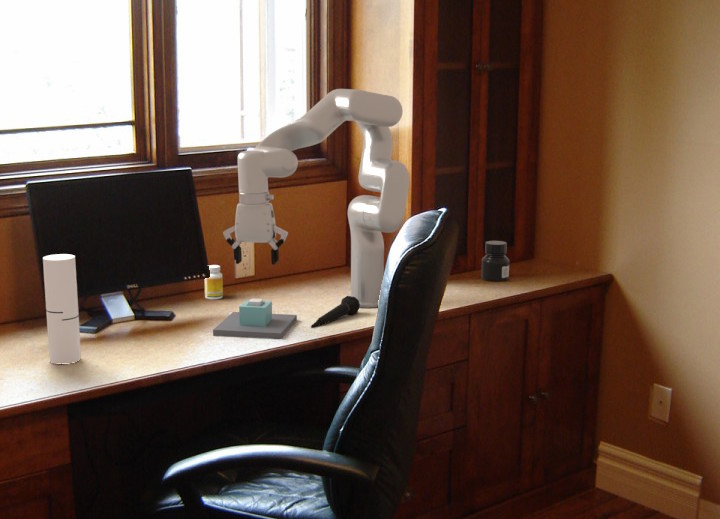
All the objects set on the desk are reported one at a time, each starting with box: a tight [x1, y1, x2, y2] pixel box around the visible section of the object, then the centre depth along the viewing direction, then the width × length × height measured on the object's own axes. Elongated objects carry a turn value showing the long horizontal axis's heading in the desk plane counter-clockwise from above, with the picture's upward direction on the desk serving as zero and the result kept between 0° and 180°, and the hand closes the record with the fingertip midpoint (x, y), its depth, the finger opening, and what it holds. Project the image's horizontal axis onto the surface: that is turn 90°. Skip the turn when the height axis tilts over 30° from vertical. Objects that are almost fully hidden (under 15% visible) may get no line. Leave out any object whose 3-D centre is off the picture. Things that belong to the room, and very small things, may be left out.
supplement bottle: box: [203, 264, 224, 300], centre depth 287 cm, size 5×5×10 cm
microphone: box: [310, 295, 361, 329], centre depth 264 cm, size 6×6×20 cm
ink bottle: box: [480, 240, 510, 282], centre depth 312 cm, size 10×9×12 cm
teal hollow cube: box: [238, 299, 273, 326], centre depth 256 cm, size 7×7×5 cm
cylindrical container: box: [42, 253, 82, 364], centre depth 226 cm, size 7×7×25 cm
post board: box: [212, 298, 298, 340], centre depth 256 cm, size 18×18×8 cm
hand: (256, 263), depth 253 cm, fingers open, 9 cm apart
